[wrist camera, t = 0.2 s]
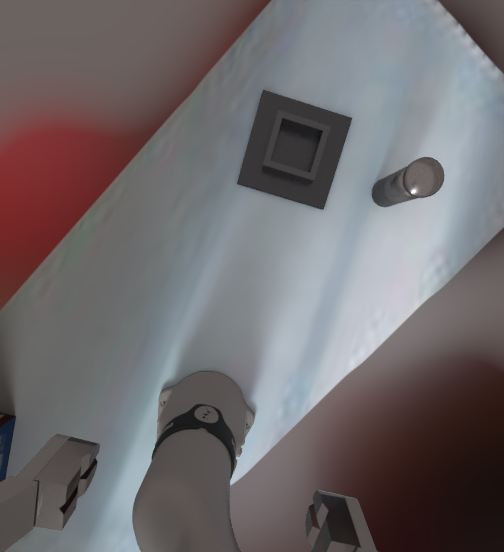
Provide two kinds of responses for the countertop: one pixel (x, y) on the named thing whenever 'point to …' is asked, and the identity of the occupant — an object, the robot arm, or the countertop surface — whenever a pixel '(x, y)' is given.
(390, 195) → the grey cylinder
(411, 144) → the countertop surface
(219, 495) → the robot arm
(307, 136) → the duct collar
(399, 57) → the countertop surface
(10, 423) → the protein box
